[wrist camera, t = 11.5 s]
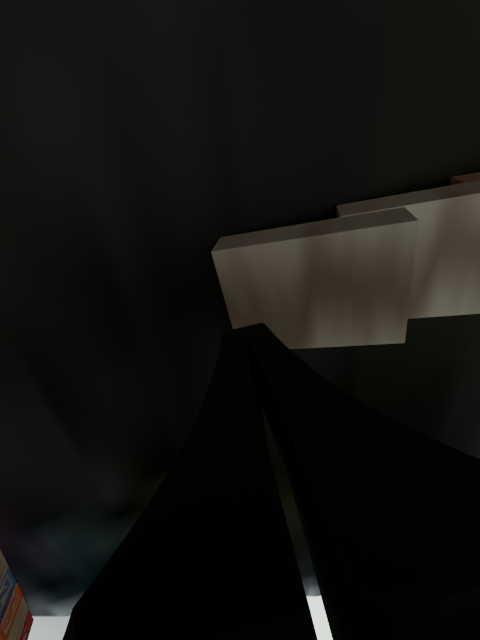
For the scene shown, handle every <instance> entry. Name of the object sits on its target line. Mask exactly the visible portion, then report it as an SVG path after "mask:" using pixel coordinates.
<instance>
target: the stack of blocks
mask: <svg viewBox="0 0 480 640" xmlns="http://www.w3.org/2000/svg"><path fill="white" fill-rule="evenodd" d="M0 549H1V547H0ZM28 608H29V607H28V605H27V603H26V601H25V598H24V597H23V595H22V592H21V590H20V587H19V585H18V583H17V582H16V581H15V579H14V577H13V574H12V572H11V570H10V568H9V567H8V564H7V562H6V560H5V558H4V556H3V554H2V552H1V550H0V640H27V639H28V636H29V632H30V629H31V626H32V622H33V618H32V616H31V614H30V612H29V610H28Z"/></svg>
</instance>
